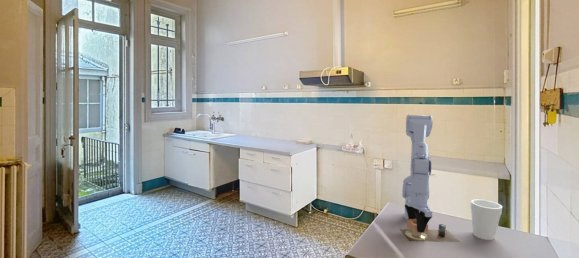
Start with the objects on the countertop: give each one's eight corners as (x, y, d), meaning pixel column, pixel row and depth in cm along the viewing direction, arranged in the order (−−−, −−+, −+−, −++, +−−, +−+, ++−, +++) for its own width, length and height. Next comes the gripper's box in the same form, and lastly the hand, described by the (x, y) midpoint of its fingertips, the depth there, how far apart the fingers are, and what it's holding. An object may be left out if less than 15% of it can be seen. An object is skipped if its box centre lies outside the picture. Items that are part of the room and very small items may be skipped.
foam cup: (496, 235, 107) (499, 202, 106) (502, 247, 99) (505, 210, 98) (466, 230, 111) (469, 197, 110) (469, 240, 103) (472, 205, 102)
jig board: (446, 232, 109) (446, 230, 109) (460, 244, 100) (460, 241, 100) (399, 231, 109) (399, 229, 109) (408, 243, 100) (409, 240, 100)
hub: (401, 230, 108) (401, 220, 108) (420, 230, 109) (421, 220, 108) (411, 240, 101) (411, 230, 100) (432, 239, 101) (432, 229, 101)
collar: (406, 226, 107) (407, 219, 106) (420, 226, 107) (420, 218, 107) (413, 233, 102) (414, 225, 101) (427, 233, 102) (428, 224, 102)
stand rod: (439, 233, 106) (439, 223, 106) (445, 235, 105) (446, 225, 104) (437, 235, 105) (438, 225, 104) (444, 237, 103) (444, 227, 103)
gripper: (399, 185, 110) (397, 219, 111) (418, 198, 95) (416, 238, 97) (416, 185, 110) (414, 219, 112) (439, 198, 96) (436, 237, 97)
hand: (416, 228), depth 104 cm, fingers closed on collar, 5 cm apart
